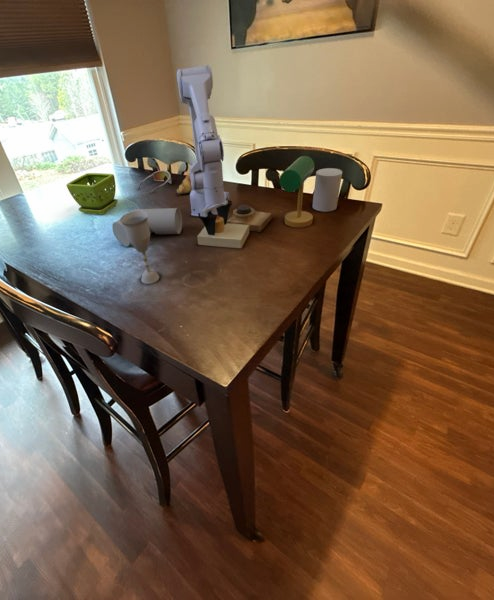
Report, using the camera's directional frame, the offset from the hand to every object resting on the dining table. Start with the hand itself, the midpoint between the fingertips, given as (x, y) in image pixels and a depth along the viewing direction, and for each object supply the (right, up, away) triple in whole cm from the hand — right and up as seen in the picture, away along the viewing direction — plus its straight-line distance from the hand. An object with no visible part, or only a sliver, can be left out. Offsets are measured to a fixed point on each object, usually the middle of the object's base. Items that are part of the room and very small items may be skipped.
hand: (217, 229), depth 98 cm
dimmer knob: (0, 0, 0) cm, 0 cm away
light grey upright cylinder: (+38, +11, +13) cm, 42 cm away
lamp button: (+9, +7, +7) cm, 14 cm away
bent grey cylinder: (-21, -1, +8) cm, 23 cm away
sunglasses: (-27, +31, +49) cm, 64 cm away
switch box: (+11, +4, +9) cm, 15 cm away
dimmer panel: (+2, -3, +1) cm, 4 cm away
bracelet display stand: (+27, +4, +6) cm, 28 cm away
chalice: (-19, -17, -12) cm, 28 cm away
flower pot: (-48, +16, +33) cm, 60 cm away
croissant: (-9, +28, +42) cm, 51 cm away
